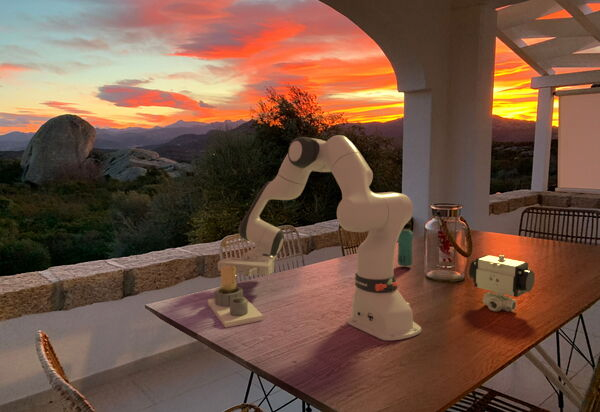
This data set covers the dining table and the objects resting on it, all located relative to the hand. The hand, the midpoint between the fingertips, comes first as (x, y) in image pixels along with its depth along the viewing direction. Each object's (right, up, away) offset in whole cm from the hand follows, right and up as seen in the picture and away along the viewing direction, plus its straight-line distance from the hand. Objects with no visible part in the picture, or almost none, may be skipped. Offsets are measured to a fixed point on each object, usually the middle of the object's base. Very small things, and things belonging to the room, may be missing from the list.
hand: (235, 272), depth 146 cm
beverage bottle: (+69, -4, +39) cm, 79 cm away
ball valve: (+87, -11, -9) cm, 88 cm away
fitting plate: (+1, -11, -9) cm, 14 cm away
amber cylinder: (-2, -9, -4) cm, 10 cm away
